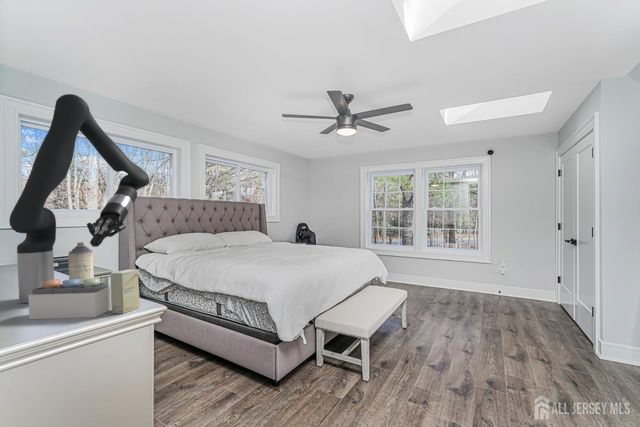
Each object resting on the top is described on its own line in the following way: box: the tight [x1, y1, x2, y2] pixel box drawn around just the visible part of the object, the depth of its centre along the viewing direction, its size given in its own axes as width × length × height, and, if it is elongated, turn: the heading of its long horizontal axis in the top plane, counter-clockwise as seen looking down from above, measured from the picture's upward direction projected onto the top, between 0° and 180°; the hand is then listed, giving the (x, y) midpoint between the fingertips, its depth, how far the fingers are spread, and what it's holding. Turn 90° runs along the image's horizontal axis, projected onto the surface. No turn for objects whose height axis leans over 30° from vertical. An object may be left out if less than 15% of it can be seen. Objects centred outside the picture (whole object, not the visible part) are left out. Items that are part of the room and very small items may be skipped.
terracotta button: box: [42, 278, 61, 289], centre depth 88 cm, size 4×4×2 cm
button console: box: [28, 282, 112, 320], centre depth 88 cm, size 19×7×8 cm, turn 91°
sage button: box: [83, 277, 101, 288], centre depth 88 cm, size 4×4×2 cm
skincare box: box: [109, 268, 140, 314], centre depth 90 cm, size 6×4×12 cm
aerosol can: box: [67, 242, 95, 284], centre depth 105 cm, size 7×7×20 cm
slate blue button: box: [62, 278, 80, 288], centre depth 88 cm, size 4×4×2 cm
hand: (93, 245), depth 97 cm, fingers closed
